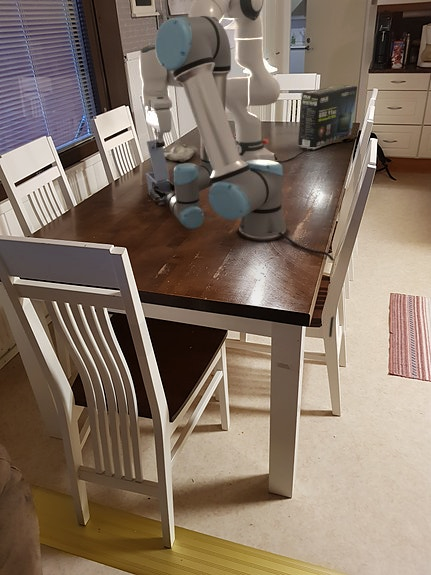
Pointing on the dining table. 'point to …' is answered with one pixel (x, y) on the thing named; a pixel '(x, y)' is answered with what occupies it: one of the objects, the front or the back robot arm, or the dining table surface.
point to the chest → (158, 184)
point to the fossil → (180, 152)
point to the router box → (326, 115)
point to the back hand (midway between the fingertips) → (159, 141)
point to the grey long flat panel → (158, 160)
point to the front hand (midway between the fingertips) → (160, 184)
